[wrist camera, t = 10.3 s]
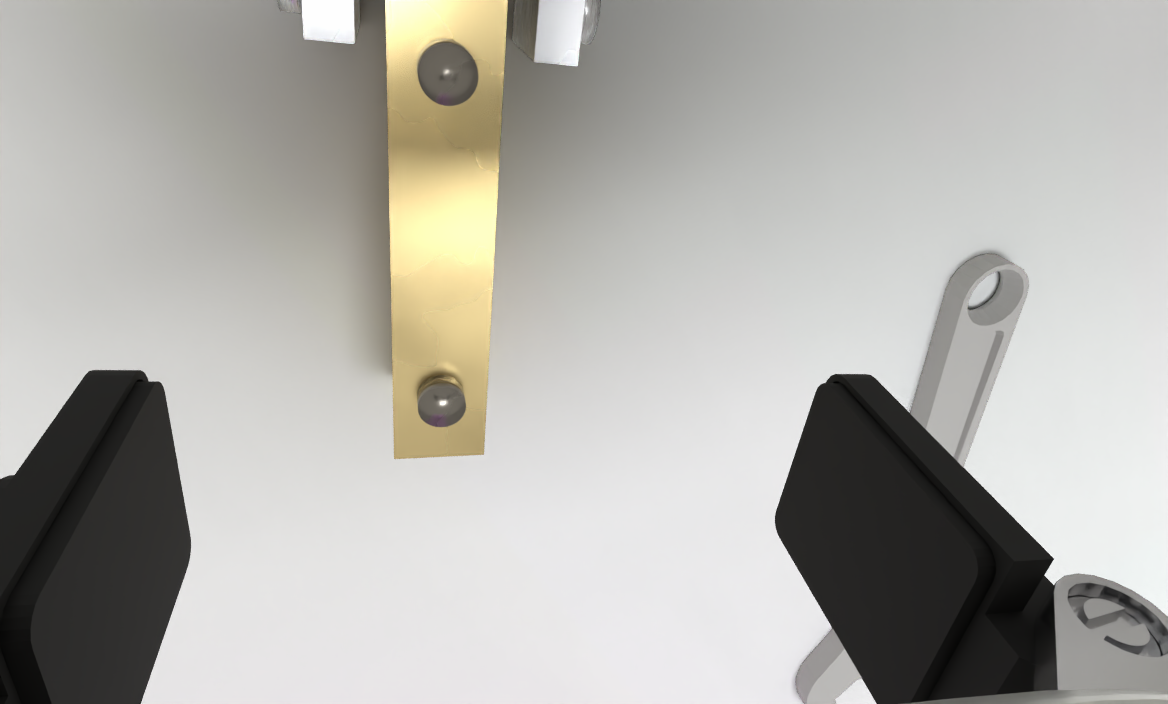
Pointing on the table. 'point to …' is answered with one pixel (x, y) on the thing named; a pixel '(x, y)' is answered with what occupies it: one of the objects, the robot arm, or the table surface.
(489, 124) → the master link
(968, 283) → the adjustable wrench
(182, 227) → the table surface
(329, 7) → the chain end grey
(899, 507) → the robot arm
